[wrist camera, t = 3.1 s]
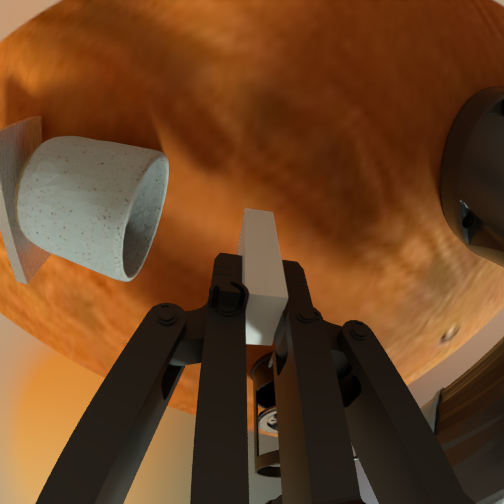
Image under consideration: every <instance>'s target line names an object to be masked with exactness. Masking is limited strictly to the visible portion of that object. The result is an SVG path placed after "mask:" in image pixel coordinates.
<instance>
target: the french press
mask: <svg viewBox="0 0 504 504" xmlns="http://www.w3.org/2000/svg"><path fill="white" fill-rule="evenodd" d="M272 354H273V352H271V353H269V354H267V355H265V356H263V357H262V358H260V359H259V360H258V361H257V362H256V363H255V364H254V365H253V368H252V370H251V377H252V380H253V396H254V458H255V473H256V474H257V475H260V476H264V477H274V478H281V470H280V467H271V465H275V464H280V455H279V450H275V451H272V452H268V453H265V454H262V455H260V456H259V438H258V437H259V436H258V427H259V428H261V429H263V430H265V431H268V432H272V433H278V426H277V412H276V399H275V386H274V385H271V384H269V383H271V382H273V381H274V372H273V363H272V366H271V367H268V365H269V361H270V359H271V356H272ZM258 405H259V406H260V407H262V408H264V409H265V410H263V411H262V412H261V413H260V414H259V415H258ZM355 453H356V452H355ZM354 461H355V462H358V461H359V458H358V456H357V454H356V456H355V457H354ZM266 504H283V502H282V495H280V496H279V497H278V498H276V499H274V500H269V501H268V502H267V503H266Z"/></svg>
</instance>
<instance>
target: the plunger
mask: <svg viewBox="0 0 504 504" xmlns="http://www.w3.org/2000/svg"><path fill="white" fill-rule="evenodd" d="M41 144H42V122H41V116H33V117H28V118H25V119H23V120H20V121H17V122H14V123H12V124H9V125H7V126H4V127H2V128H0V230H1V233H2V237H3V241H4V244H5V247H6V251H7V254H8V257H9V260H10V263H11V266H12V269H13V272H14V274H15V277H16V280H17V282H21V283H24V284H28V283H29V282H30V280H31V279H32V278H33V276H34V275H35V274H36V273H37V271H38V270H39V269H40V267H41V266H42V265H43V264H44V262H45V261H46V260H47V259H48V258H49V256H50V255H51V254H52V253H50V252H47V251H45V250H43V249H42V248H40V247H38V246H37V245H35V244H34V243H32V242H31V241H30V240H29V239H27V238H26V237H25V236H24V234H23V233H22V232H21V230H20V228H19V226H18V223H17V220H16V215H15V204H14V200H15V190H16V186H17V183H18V179H19V176H20V173H21V170H22V168H23V166H24V164H25V163H26V161H27V159H28V158H29V156H30V155H31V154H32V153H33V151H34V150H35V149H36V148H37V147H38V146H39V145H41Z"/></svg>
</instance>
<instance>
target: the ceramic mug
mask: <svg viewBox="0 0 504 504" xmlns="http://www.w3.org/2000/svg"><path fill="white" fill-rule="evenodd" d="M168 177H169V163H168V158H167V156H166V155H165V154H164V153H163V152H161V151H157V150H152V149H147V148H142V147H137V146H132V145H126V144H121V143H116V142H110V141H102V140H95V139H90V138H85V137H80V136H60V137H54V138H51V139H49V140H46V141H45V142H43V143H42V144H41V145H39V146H38V147H37V148H36V149H35V150H34V151H33V153H32V154H31V155H30V156H29V158H28V159H27V161H26V163H25V164H24V166H23V168H22V170H21V173H20V176H19V179H18V183H17V186H16V190H15V200H14V204H15V215H16V220H17V223H18V226H19V228H20V230H21V232H22V233H23V234H24V236H25V237H26V238H27V239H29V240H30V241H31V242H32V243H34V244H35V245H37V246H38V247H40V248H42V249H43V250H45V251H47V252H50V253H52V254H55V255H58V256H60V257H63V258H66V259H68V260H70V261H72V262H75V263H77V264H79V265H82V266H84V267H86V268H89V269H91V270H94V271H96V272H99V273H101V274H104V275H106V276H108V277H111V278H113V279H116V280H120V281H124V282H129V281H131V280H132V279H134V278H135V277H136V276H137V274H138V273H139V271H140V270H141V268H142V266H143V264H144V262H145V260H146V258H147V255H148V252H149V250H150V248H151V245H152V242H153V239H154V236H155V234H156V230H157V227H158V224H159V221H160V218H161V214H162V208H163V204H164V201H165V197H166V191H167V185H168Z"/></svg>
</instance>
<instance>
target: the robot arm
mask: <svg viewBox="0 0 504 504" xmlns="http://www.w3.org/2000/svg"><path fill="white" fill-rule="evenodd" d="M440 191H441V201H442V207H443V211H444V215H445V218H446V220H447V223H448V225H449V227H450V228H451V230H452V231H453V233H454V234H455V235H456V236H457V237H458V238H459V239H460V240H461V241H462V242H463V243H464V244H465V245H466V246H467V247H468V248H469V249H470V250H471V251H473V252H474V253H475V254H477V255H479V256H481V257H484V258H486V259H488V260H490V261H492V262H494V263H496V264H498V265H500V266H502V267H504V88H502V87H490V88H486V89H484V90H482V91H480V92H478V93H477V94H475V95H474V96H473V97H472V98H471V99H470V100H469V101H468V102H467V103H466V104H465V105H464V107H463V108H462V109H461V111H460V113H459V114H458V116H457V118H456V120H455V122H454V124H453V126H452V128H451V131H450V133H449V136H448V139H447V142H446V146H445V150H444V154H443V160H442V167H441V178H440ZM273 340H275V349H274V351H273V354H272V356H271V359H270V361H269V365H268V367H271V366H272V363H273V372H274V385H275V399H276V412H277V426H278V440H279V455H280V470H281V486H282V502H283V504H366V503H364V502H363V501H362V499H361V496H360V491H359V485H358V479H357V473H356V467H355V461H354V456H353V450H352V445H353V448H354V450H355V452H356V454H357V456H358V458H359V461H360V463H361V465H362V467H363V469H364V472H365V474H366V476H367V478H368V480H369V483H370V485H371V487H372V489H373V491H374V494H375V496H376V498H377V500H378V502H379V504H504V337H503V338H502V339H501V340H500V341H499V342H498V343H497V344H496V345H495V346H494V347H493V348H492V349H491V350H490V351H488V352H487V353H486V354H485V355H484V356H483V357H482V358H481V359H480V360H479V361H478V362H477V363H475V364H474V365H473V366H472V367H471V368H470V369H468V370H467V371H466V372H465V373H464V374H463V375H461V376H460V377H459V378H458V379H456V380H455V381H454V382H453V383H451V384H450V385H449V386H448V387H446V388H442V389H440V390H439V391H438V392H437V393H436V394H435V396H434V398H433V399H431V400H430V401H429V402H428V403H426V404H425V405H424V406H422V407H421V408H419V406H418V405H417V403H416V401H415V399H414V398H413V396H412V394H411V393H410V391H409V389H408V387H407V386H406V384H405V382H404V381H403V379H402V378H401V376H400V374H399V373H398V371H397V369H396V368H395V366H394V365H393V363H392V361H391V360H390V358H389V357H388V355H387V353H386V352H385V350H384V349H383V347H382V345H381V344H380V342H379V341H378V339H377V338H376V336H375V335H374V333H373V332H372V330H371V329H370V328H369V327H368V326H367V325H366V324H364V323H363V322H360V321H357V320H350V321H347V322H345V324H344V325H343V326H338V325H335V324H332V323H329V322H327V321H325V320H323V317H322V315H321V313H320V312H319V311H318V310H317V309H316V308H314V307H313V305H312V301H311V297H310V293H309V289H308V285H307V281H306V278H305V273H304V270H303V268H302V267H301V266H300V264H299V263H298V262H295V261H287V260H282V258H281V253H280V247H279V242H278V236H277V231H276V226H275V220H274V215H273V212H270V211H263V210H256V209H249V208H245V210H244V216H243V222H242V227H241V233H240V239H239V245H238V250H237V255H234V254H226V253H220V254H219V255H218V256H217V257H216V258H215V261H214V268H213V275H212V282H211V287H210V289H209V300H208V302H207V303H206V305H204V306H203V307H202V308H199V309H197V310H192V311H185V312H184V310H183V309H182V308H181V307H179V306H177V305H175V304H171V303H162V304H158V305H156V306H154V307H153V308H152V309H151V310H150V311H149V312H148V313H147V315H146V316H145V318H144V319H143V321H142V322H141V324H140V325H139V327H138V328H137V330H136V331H135V333H134V334H133V336H132V337H131V339H130V340H129V342H128V343H127V345H126V346H125V348H124V350H123V351H122V353H121V354H120V356H119V357H118V359H117V360H116V362H115V364H114V365H113V367H112V368H111V370H110V371H109V373H108V375H107V376H106V378H105V379H104V381H103V383H102V384H101V386H100V387H99V389H98V391H97V393H96V394H95V396H94V397H93V399H92V401H91V402H90V404H89V406H88V407H87V409H86V411H85V412H84V414H83V416H82V417H81V419H80V421H79V423H78V424H77V426H76V428H75V430H74V431H73V433H72V435H71V437H70V438H69V441H68V442H67V444H66V446H65V447H64V449H63V451H62V453H61V455H60V457H59V458H58V460H57V462H56V464H55V466H54V468H53V470H52V472H51V474H50V475H49V477H48V479H47V482H46V483H45V485H44V487H43V490H42V491H41V493H40V495H39V497H38V500H37V502H36V504H123V503H124V501H125V498H126V496H127V494H128V491H129V489H130V487H131V485H132V482H133V480H134V478H135V476H136V473H137V471H138V469H139V467H140V464H141V462H142V460H143V458H144V455H145V453H146V451H147V449H148V446H149V444H150V442H151V440H152V438H153V435H154V433H155V431H156V429H157V427H158V424H159V422H160V420H161V418H162V416H163V413H164V411H165V409H166V407H167V405H168V403H169V400H170V398H171V396H172V394H173V392H174V389H175V387H176V385H177V383H178V381H179V379H180V376H181V374H182V372H183V370H184V368H185V365H190V364H196V363H201V370H200V380H199V390H198V401H197V412H196V425H195V436H194V450H193V464H192V481H191V501H190V504H249V484H248V483H249V482H248V437H247V435H248V434H247V377H246V344H254V345H267V346H271V345H272V343H273ZM351 443H352V445H351Z"/></svg>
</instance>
